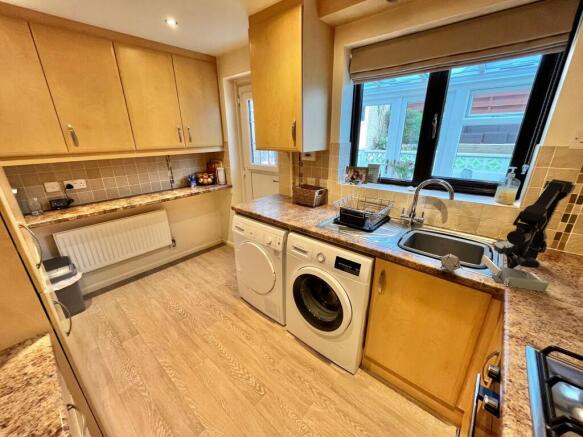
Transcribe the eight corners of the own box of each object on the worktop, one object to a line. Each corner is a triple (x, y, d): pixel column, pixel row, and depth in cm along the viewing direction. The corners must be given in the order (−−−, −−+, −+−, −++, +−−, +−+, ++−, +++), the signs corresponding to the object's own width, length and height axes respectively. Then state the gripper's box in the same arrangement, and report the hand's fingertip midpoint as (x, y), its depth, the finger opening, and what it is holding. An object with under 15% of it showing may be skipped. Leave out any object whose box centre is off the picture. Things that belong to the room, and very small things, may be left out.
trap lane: (481, 260, 115) (483, 255, 114) (512, 264, 112) (515, 258, 111) (506, 286, 97) (509, 280, 95) (544, 291, 94) (548, 285, 93)
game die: (442, 274, 110) (441, 252, 112) (464, 275, 104) (463, 253, 107) (437, 272, 104) (436, 249, 106) (461, 273, 98) (459, 249, 100)
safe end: (504, 284, 98) (508, 276, 96) (542, 289, 95) (546, 281, 94) (506, 286, 97) (510, 278, 95) (544, 291, 94) (549, 283, 92)
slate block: (497, 274, 105) (500, 266, 103) (517, 278, 102) (520, 270, 101) (503, 283, 99) (506, 275, 97) (524, 287, 96) (528, 279, 95)
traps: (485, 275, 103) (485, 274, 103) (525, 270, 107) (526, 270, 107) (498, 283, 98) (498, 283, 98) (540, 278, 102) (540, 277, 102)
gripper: (488, 227, 109) (478, 256, 115) (515, 247, 93) (500, 279, 98) (516, 230, 107) (504, 259, 113) (548, 250, 90) (531, 283, 96)
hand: (508, 269), depth 105 cm, fingers closed
